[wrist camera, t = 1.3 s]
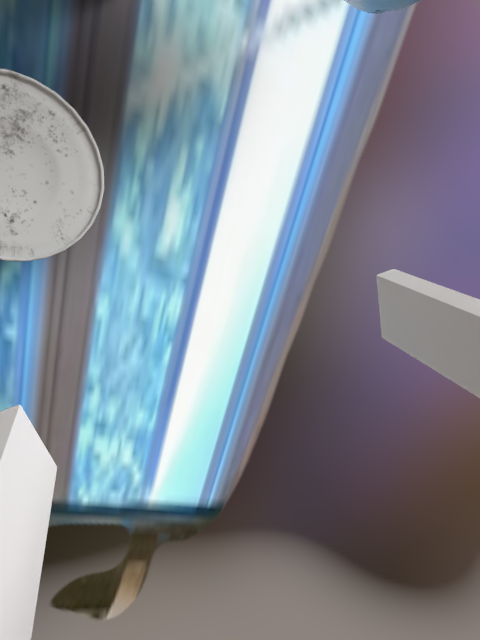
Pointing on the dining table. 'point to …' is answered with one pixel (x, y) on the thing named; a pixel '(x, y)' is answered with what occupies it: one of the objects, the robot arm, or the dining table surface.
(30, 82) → the white scuffed cylinder
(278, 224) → the dining table surface
